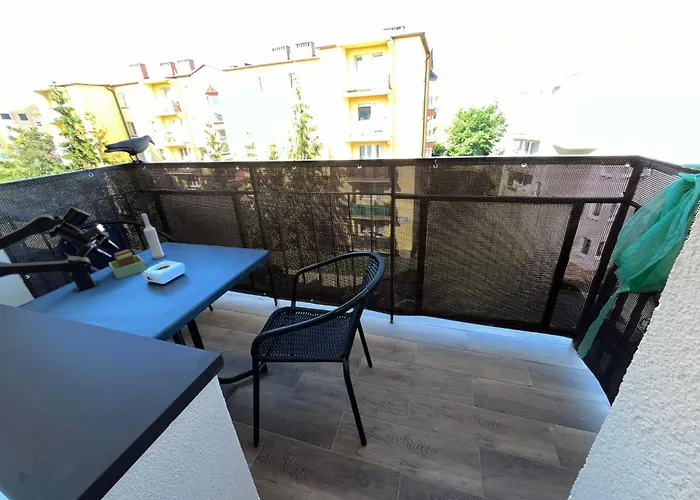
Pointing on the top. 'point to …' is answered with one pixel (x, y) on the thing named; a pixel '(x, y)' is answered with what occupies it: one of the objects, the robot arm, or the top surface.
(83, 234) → the robot arm
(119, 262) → the chocolate bar
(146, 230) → the bottle
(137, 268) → the green open tray
